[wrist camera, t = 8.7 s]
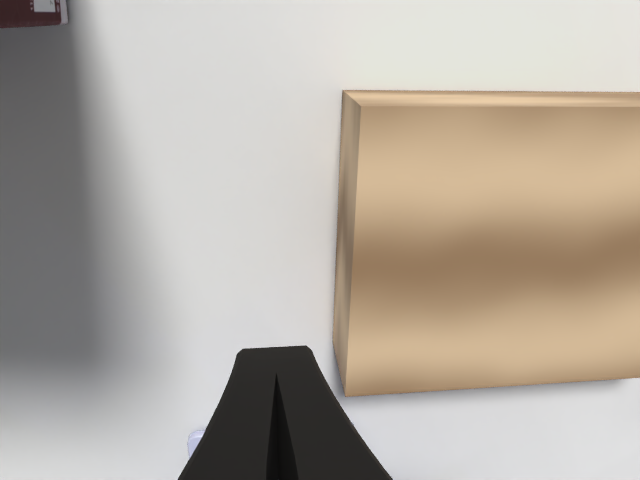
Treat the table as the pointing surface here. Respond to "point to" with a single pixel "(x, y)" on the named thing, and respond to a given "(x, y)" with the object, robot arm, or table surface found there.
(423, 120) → the deck
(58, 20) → the supplement box
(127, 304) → the table surface
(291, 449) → the robot arm
